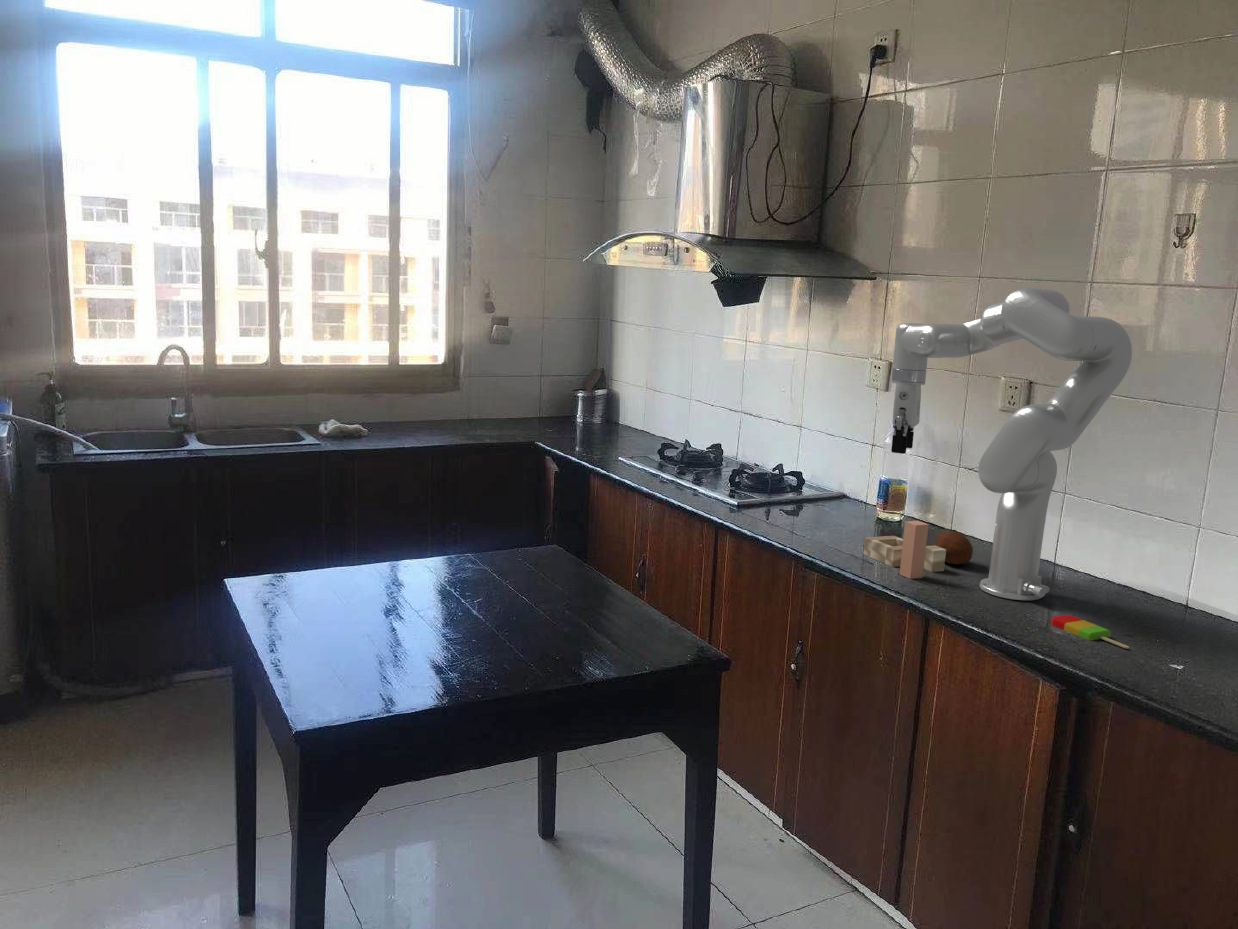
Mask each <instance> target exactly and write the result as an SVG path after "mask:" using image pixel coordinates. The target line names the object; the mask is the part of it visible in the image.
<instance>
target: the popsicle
mask: <svg viewBox="0 0 1238 929" xmlns="http://www.w3.org/2000/svg"><path fill="white" fill-rule="evenodd" d="M1050 623H1051V626H1053V627H1055V628H1058V629H1060V630H1062V631H1065V632H1068V633H1070V634H1072V635H1075V636H1077V637H1080V638H1083V639H1085V640H1088V641H1096V640H1104V641H1106V642H1109V643H1111V644H1113V645H1115V646H1118V647H1121V648H1123V649H1127V650H1128V649H1130V646H1129V645H1126V644H1125V643H1124V644H1123V643H1121V642H1119V641H1116V640H1113V639H1111V634H1112V632H1111V630H1109V629H1107V628H1105V627H1102V626H1100V625H1097V624H1095V623H1093V622H1089V621H1087V620H1085V619H1081V618H1079V617H1077V616H1073V615H1070V614H1065V615H1058V616H1054V617H1052V618H1051V622H1050Z"/></svg>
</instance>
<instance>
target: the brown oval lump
mask: <svg viewBox="0 0 1238 929" xmlns="http://www.w3.org/2000/svg"><path fill="white" fill-rule="evenodd" d="M934 546H938V547H941V548H943V549H946V556H945V562H946V563H947V564H950V565H962V564H967V563H969V561H971V560H972V557H973V553H974V547H973V546H972V543H971V541H970V540H969V539H968V538H967V536H966V535H965V534H963V533H961V532H958V531H954V530H953V531H949V532H941V533H940V534H938V536H937V537H936V538H935V542H934Z"/></svg>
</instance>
